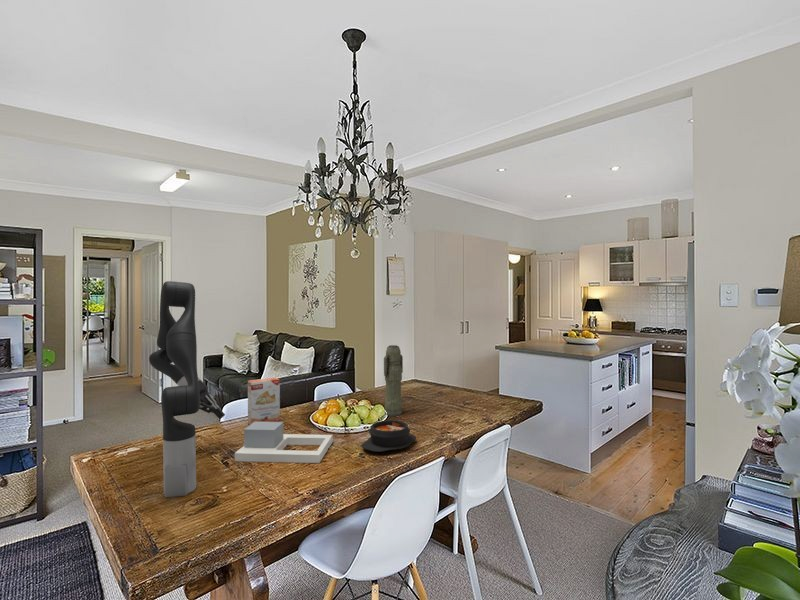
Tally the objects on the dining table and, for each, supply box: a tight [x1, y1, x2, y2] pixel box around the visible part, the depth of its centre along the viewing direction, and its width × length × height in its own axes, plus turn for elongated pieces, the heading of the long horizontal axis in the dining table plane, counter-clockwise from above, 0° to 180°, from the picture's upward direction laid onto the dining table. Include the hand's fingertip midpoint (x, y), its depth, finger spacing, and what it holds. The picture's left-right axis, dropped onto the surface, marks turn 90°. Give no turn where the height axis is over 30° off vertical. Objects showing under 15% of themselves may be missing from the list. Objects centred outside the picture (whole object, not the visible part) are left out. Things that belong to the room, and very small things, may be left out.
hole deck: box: [234, 433, 334, 464], centre depth 169 cm, size 22×32×3 cm
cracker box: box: [247, 376, 281, 425], centre depth 206 cm, size 14×6×21 cm, turn 125°
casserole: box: [361, 419, 417, 453], centre depth 174 cm, size 25×19×8 cm
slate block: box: [243, 421, 284, 448], centre depth 169 cm, size 10×12×7 cm
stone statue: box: [383, 344, 404, 417], centre depth 220 cm, size 9×12×35 cm
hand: (222, 416), depth 170 cm, fingers closed
